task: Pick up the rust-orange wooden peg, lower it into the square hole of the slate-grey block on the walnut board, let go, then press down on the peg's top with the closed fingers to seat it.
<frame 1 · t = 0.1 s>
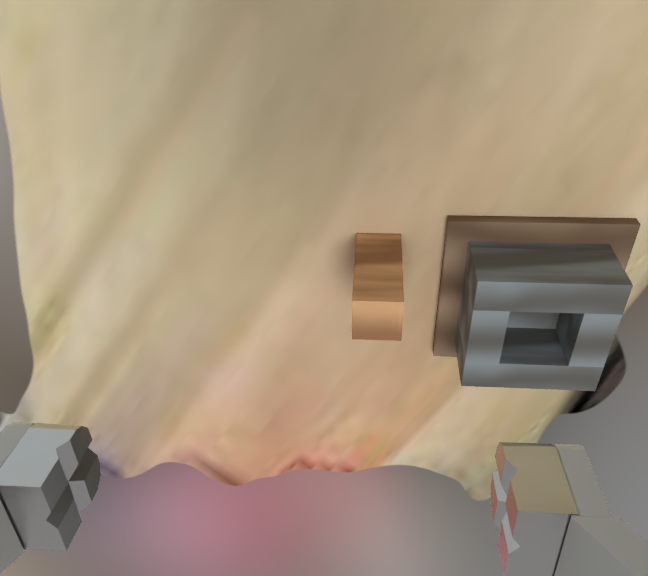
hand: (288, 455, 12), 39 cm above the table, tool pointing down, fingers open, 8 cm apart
peg: (378, 251, 55), on the table
hole block: (524, 290, 56), on the table
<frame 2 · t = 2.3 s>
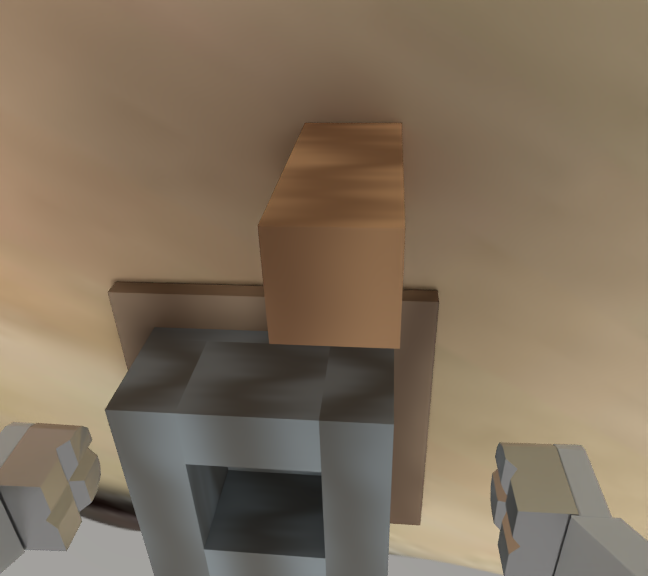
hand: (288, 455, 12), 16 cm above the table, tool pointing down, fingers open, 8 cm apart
peg: (353, 169, 25), on the table
hole block: (283, 408, 33), on the table
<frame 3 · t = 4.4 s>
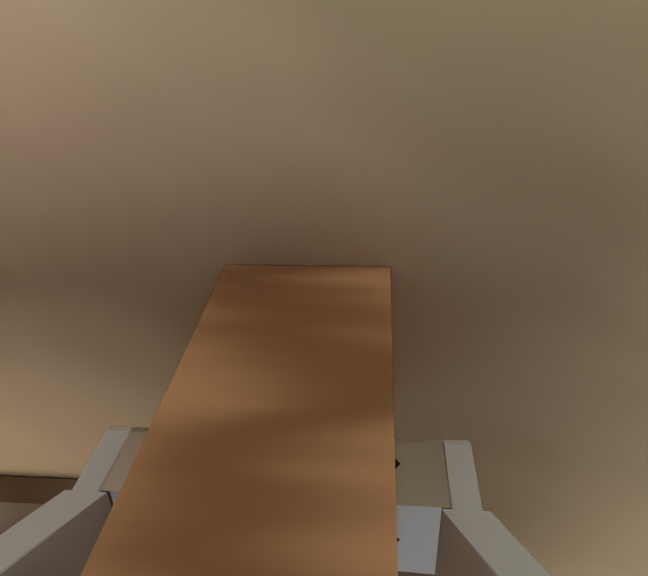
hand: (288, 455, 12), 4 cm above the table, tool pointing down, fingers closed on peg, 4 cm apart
peg: (310, 333, 15), on the table, touching gripper
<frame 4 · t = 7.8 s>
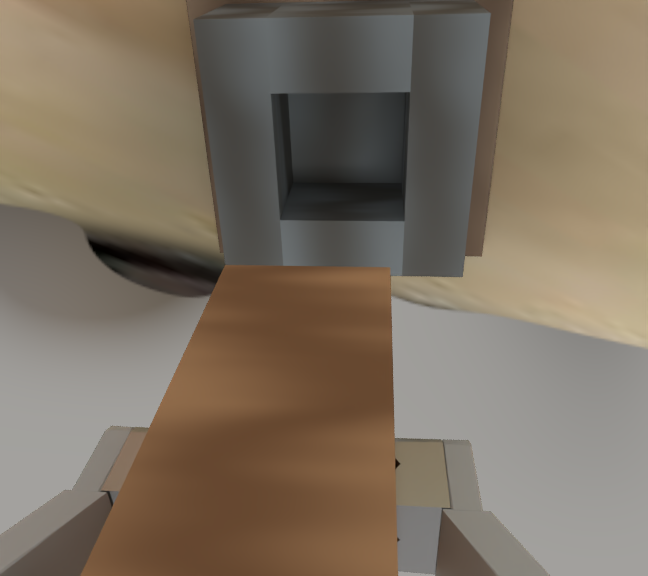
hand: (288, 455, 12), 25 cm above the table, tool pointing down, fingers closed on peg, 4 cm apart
peg: (310, 333, 15), point 21 cm above the table, touching gripper
hole block: (348, 118, 33), on the table
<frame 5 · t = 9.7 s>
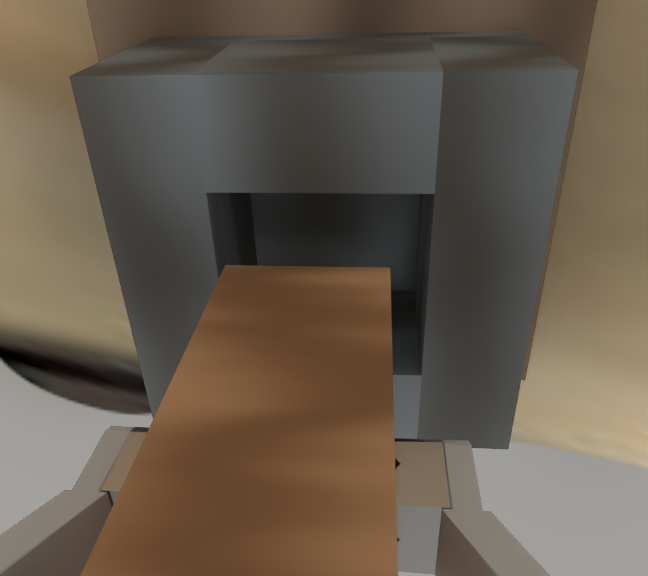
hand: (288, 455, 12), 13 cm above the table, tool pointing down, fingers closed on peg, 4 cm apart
peg: (310, 334, 15), point 9 cm above the table, touching gripper
hole block: (338, 196, 23), on the table
when the fingers open (9 cm above the table, at t = 11.4 s): peg drops 2 cm, resting on hole block.
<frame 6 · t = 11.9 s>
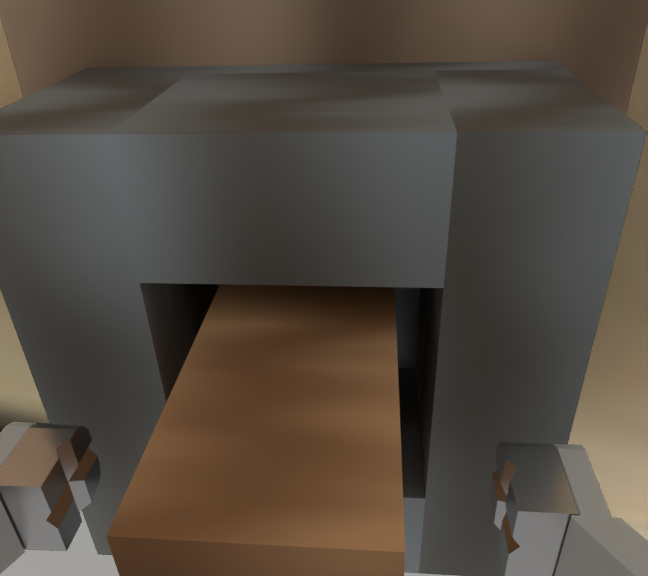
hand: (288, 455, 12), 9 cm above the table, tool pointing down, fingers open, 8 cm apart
peg: (321, 284, 17), point 2 cm above the table, touching hole block
hole block: (323, 253, 19), on the table
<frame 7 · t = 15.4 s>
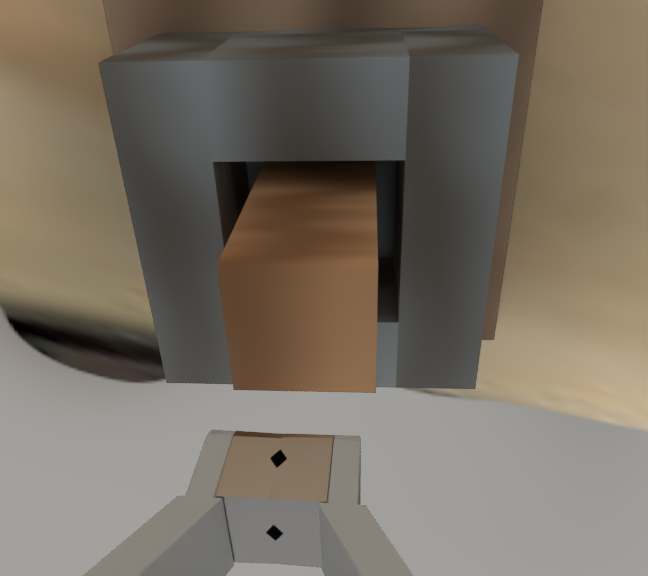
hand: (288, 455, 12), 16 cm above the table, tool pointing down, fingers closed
peg: (325, 191, 24), point 2 cm above the table, touching hole block
hole block: (325, 174, 26), on the table
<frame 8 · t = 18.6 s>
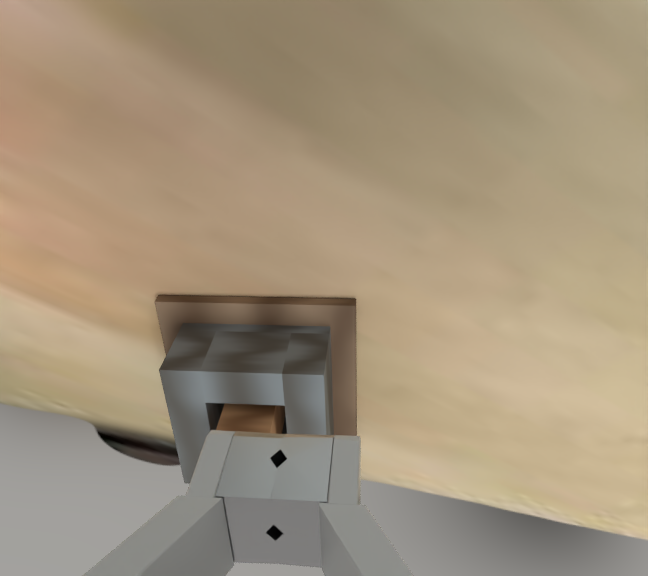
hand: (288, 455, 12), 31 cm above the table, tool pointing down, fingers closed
peg: (261, 390, 50), point 2 cm above the table, touching hole block
hole block: (264, 374, 51), on the table
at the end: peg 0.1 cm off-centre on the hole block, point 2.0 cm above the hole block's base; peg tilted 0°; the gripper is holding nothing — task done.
